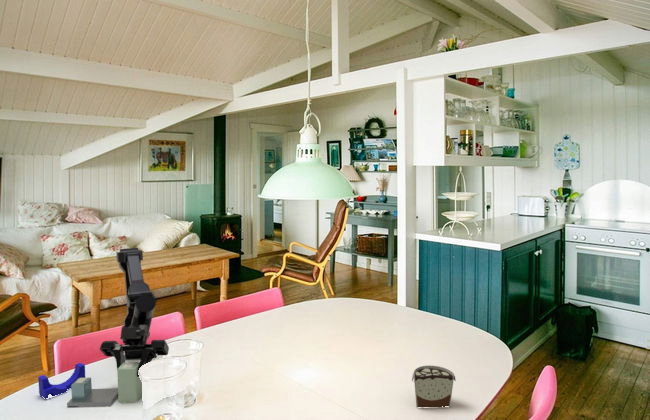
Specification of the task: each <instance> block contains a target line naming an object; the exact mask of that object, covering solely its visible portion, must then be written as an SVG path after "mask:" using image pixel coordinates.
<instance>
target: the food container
mask: <svg viewBox="0 0 650 420" xmlns="http://www.w3.org/2000/svg"><path fill="white" fill-rule="evenodd" d="M456 380H457V379H456V376H455V373H454V372H453V371H451V370H450V369H448V368H446V367H443V366H440V365H439V366H437V365H423V366H417V367H416V368H415V369H414V370H413V373H412V376H411V382H413V383H414V395H415V403H416V405H415V406H416V408H417V407H442V406H443V407H445V406H449V407H450V408H451V401H452V394H453V387H454V382H456Z"/></svg>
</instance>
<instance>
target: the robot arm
mask: <svg viewBox="0 0 650 420" xmlns="http://www.w3.org/2000/svg"><path fill="white" fill-rule="evenodd" d="M143 252H144V251H143V249H141V250H140V249H139V248H138V247H129V248H120V249H119V251H118V252H116V254H115V255H116V256H115V257H116V262H117V263H118V267H119V268H120V270H121V271H122V273H124V286H125V297H126V298H125V300H126V310H127V311H126V313H127V314H125V315H126V316H125V317H124V319H123V323H122V326H121V331H120V340H121V341H122V343H123V344H119V343H118V341H117V340H104V341H102V343H101V344H100V347H99V350H100V351H101V353H102V354H103V355H104V356H105V357H111V358H112V357H114V359H115V362H116V370H117V369H118V368H119V367H120V366H121V365H122V364H123V362H126V360H140V361H139V362H140V364H139V367H138V370H139V368H140V367H141V366H142V365H144V364H146V363H148V362H150V363H151V362H152V361H153V360H154V359H156V358H157V357H158V356H167V355H169V349H170V348H169V345H168V343H167V342H166V340H165V339H151V340H152V341H150V342H151V343H148V339H149V338H150V334H151V332H150V329H151V325H152V320H153V316H154V314H155V313H154V312H155V308H156V306H157V297H156V296H155V294H154V293H153V291H151V290H150V285H149V284H147V282H145V280H144V274H143V270H142V264H141V263H142V262H141V261H144V255H143V254H144V253H143ZM137 377H139V375H138V371H137Z"/></svg>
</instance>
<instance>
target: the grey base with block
mask: <svg viewBox="0 0 650 420" xmlns="http://www.w3.org/2000/svg"><path fill="white" fill-rule="evenodd" d="M92 386H93V385H92V377H85V378H78V379H77V380H76V381H75V382H74V383H73V384H72V385H71V389H70V391H71V398H70V399H69V400H68V402H67V403H66V407H67V406H93V407H111V406H112V405H113V404H114V402H116V400H117V399H118V387H114V388H113V387H112V388H111V387H109V388H92Z"/></svg>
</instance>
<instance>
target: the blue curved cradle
mask: <svg viewBox="0 0 650 420" xmlns="http://www.w3.org/2000/svg"><path fill="white" fill-rule="evenodd" d="M74 366H75V367H74V370H73V372H72V374H71V376H70V377H69V378H68V379H66V380H65V381H64V382H61V383H58V384H51V383H50V379H49V377H47V376H46V375H44V374H42V375H39V376H37V377H38V393H39V394H40V395H41V396H43V397H44V398H45V399H46V398H48V395H49V394H51V395H52V396H55V395H58V394H61V393H64V392H66V391H68V392H69V390H70V389H69V388H71V385H72V384H73V383H74V382H75V381H76V380H77V379H78V378H86V365H85V364H84V363H82V362H78V363H76V364H75V365H74ZM67 389H68V390H67ZM66 393H67V392H66ZM64 394H65V393H64ZM61 395H62V394H61ZM41 396H40V397H41ZM58 396H59V395H58ZM45 399H44V400H45Z"/></svg>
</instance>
